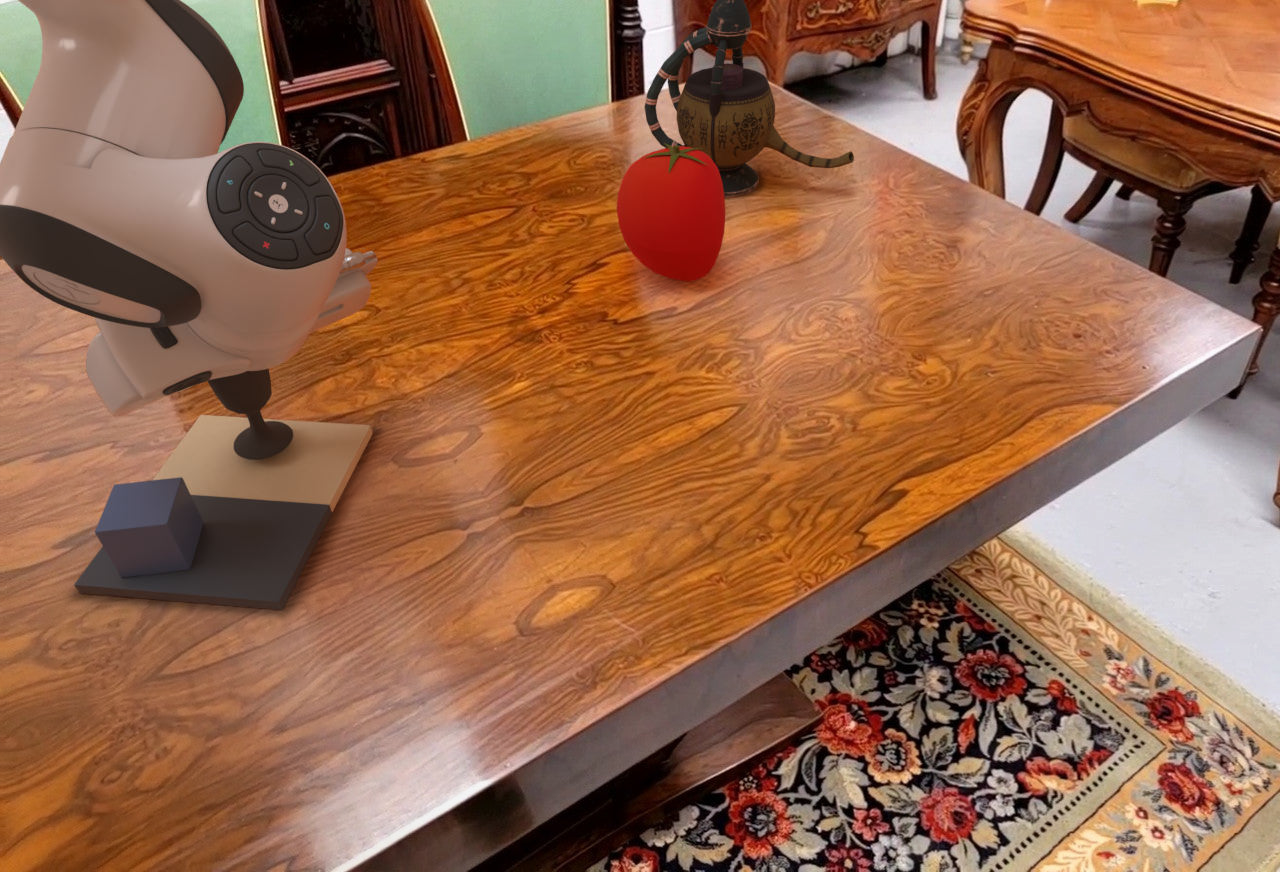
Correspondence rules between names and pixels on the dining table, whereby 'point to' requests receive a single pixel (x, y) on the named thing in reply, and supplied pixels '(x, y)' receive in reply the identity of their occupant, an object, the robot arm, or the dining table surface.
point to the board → (246, 514)
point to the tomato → (673, 212)
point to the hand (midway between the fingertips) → (230, 358)
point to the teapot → (725, 103)
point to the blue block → (150, 527)
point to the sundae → (252, 414)
